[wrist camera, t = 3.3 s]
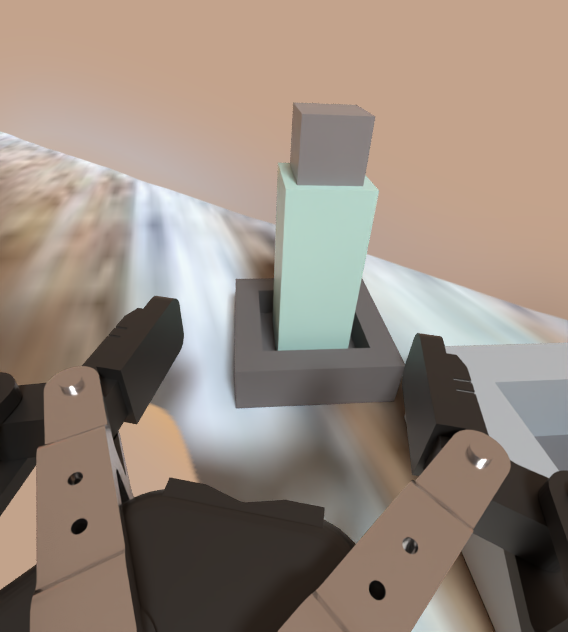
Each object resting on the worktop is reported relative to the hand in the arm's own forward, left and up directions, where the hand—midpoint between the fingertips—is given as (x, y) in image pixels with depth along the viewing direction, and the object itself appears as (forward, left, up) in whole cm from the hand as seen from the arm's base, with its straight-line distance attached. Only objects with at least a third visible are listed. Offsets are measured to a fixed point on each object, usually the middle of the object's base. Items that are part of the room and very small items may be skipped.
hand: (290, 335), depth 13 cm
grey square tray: (+3, +10, -10) cm, 14 cm away
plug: (+3, +10, -9) cm, 13 cm away
